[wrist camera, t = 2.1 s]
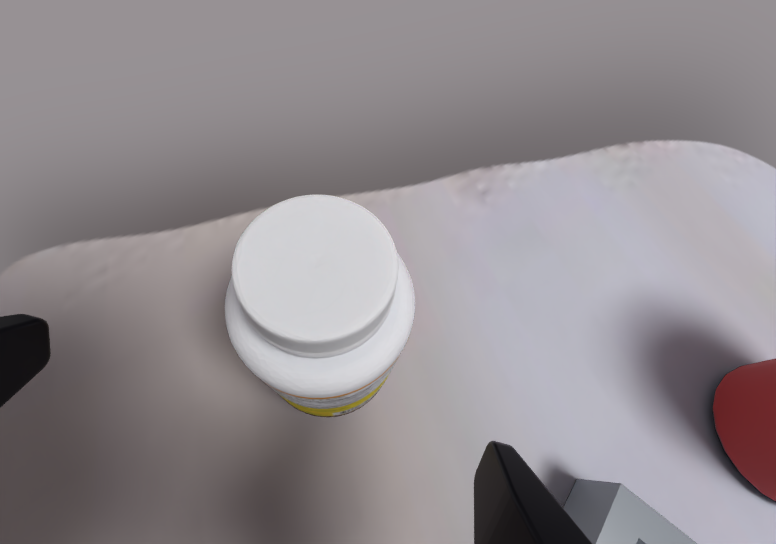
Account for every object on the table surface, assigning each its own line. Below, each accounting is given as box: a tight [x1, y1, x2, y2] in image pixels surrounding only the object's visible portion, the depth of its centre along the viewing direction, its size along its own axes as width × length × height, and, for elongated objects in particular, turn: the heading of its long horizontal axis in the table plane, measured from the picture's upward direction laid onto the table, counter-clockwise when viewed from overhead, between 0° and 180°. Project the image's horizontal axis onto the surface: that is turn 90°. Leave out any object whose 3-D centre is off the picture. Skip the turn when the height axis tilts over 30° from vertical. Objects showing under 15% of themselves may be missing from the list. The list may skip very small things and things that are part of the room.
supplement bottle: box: [225, 195, 415, 417], centre depth 14 cm, size 6×6×10 cm
